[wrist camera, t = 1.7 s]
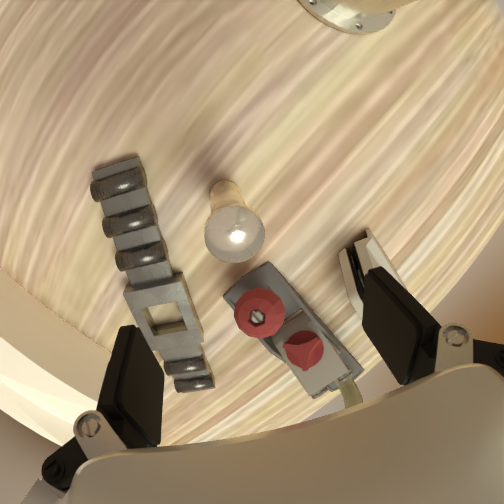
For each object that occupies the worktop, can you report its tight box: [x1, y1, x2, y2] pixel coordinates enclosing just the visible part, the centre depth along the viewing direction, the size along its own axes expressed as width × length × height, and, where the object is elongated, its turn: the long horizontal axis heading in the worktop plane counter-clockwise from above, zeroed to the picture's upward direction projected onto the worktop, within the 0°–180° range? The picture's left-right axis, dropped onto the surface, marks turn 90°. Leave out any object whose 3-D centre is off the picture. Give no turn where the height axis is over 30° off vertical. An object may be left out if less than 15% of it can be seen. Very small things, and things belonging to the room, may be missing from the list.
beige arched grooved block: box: [338, 229, 407, 320], centre depth 34 cm, size 17×5×10 cm, turn 42°
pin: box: [205, 180, 265, 263], centre depth 24 cm, size 4×4×11 cm
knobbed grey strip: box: [90, 156, 215, 393], centre depth 32 cm, size 32×7×3 cm, turn 10°
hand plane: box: [223, 262, 364, 409], centre depth 33 cm, size 7×31×15 cm, turn 38°
